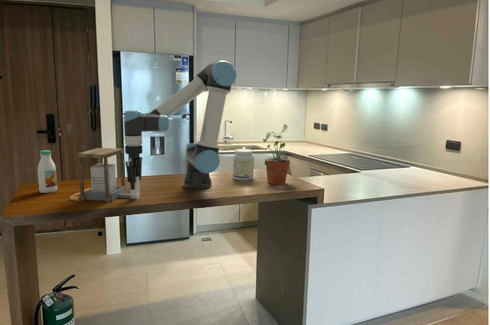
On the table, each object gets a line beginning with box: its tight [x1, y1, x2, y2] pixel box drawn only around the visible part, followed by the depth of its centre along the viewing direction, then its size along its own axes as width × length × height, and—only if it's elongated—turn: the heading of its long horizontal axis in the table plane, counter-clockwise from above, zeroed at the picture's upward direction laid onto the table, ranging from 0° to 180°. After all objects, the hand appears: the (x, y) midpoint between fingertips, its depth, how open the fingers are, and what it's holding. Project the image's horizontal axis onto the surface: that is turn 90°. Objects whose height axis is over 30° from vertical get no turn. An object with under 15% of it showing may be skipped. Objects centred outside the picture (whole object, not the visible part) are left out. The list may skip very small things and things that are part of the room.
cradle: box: [85, 177, 141, 202], centre depth 165 cm, size 22×13×10 cm, turn 84°
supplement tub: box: [232, 148, 255, 182], centre depth 208 cm, size 12×12×17 cm
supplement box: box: [90, 162, 117, 193], centre depth 165 cm, size 9×9×15 cm
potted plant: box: [262, 124, 291, 186], centre depth 198 cm, size 16×15×35 cm
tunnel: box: [77, 147, 126, 203], centre depth 165 cm, size 13×18×22 cm
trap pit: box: [68, 187, 92, 202], centre depth 168 cm, size 5×17×1 cm, turn 174°
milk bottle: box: [37, 149, 58, 194], centre depth 171 cm, size 8×8×20 cm
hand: (135, 194), depth 165 cm, fingers closed on cradle, 2 cm apart
